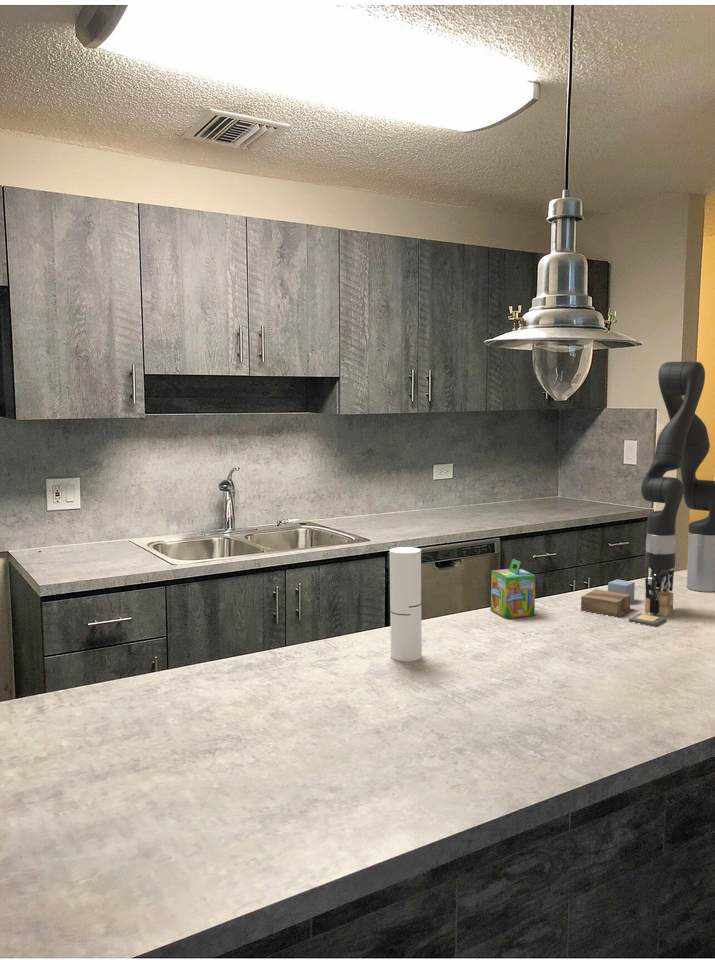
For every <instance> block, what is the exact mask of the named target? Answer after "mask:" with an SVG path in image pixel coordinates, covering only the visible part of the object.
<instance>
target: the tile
mask: <svg viewBox="0 0 715 960" xmlns="http://www.w3.org/2000/svg"><path fill="white" fill-rule="evenodd" d="M629 621H630V622H629ZM666 621H667V617H664V616H658V615H653V614H648V613H642V612H639V613H638V614H635V615H634V616H632V617H630V618H628V622H629V623H632V622H635V623H634V624H638V623H640V624H639V625H643V624H645V625H644V626H648V625H649V626H650V627H653V626H654V628H656V627H658V626H659V624H660V625H662V624H663V623H665V622H666ZM661 623H662V624H661Z"/></svg>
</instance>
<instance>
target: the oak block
mask: <svg viewBox="0 0 715 960" xmlns="http://www.w3.org/2000/svg"><path fill="white" fill-rule="evenodd" d="M656 594H657V592H656ZM644 595H645V596H644V614H648V613H650V599H649V598H646V593H645V594H644ZM672 612H674V592H672V591H670V592H665V591H662V592H661V593H660V597H659V613H657V614H655V615H654V616H658V615H661V616H660V617H664V616H665V617H667V616H669V615H670V614H672ZM653 614H654V613H650V614H649V615H653Z"/></svg>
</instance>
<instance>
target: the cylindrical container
mask: <svg viewBox="0 0 715 960" xmlns="http://www.w3.org/2000/svg"><path fill="white" fill-rule="evenodd" d="M389 595H390V596H389V599H390V600H389V604H390V607H389V608H390V609H389V610H390V619H389V620H390V657H392V658H391V659H393V660H394V659H395V661H397V662H398V661H399V662H415V661H419V660H420V659H421V658H422V655H423V653H422V652H423V651H422V650H423V649H422V644H423V643H422V640H423V639H422V549H421V548H418V547H413V546H402V547H401V546H399V547H394V548H390V549H389Z"/></svg>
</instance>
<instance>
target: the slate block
mask: <svg viewBox="0 0 715 960" xmlns="http://www.w3.org/2000/svg"><path fill="white" fill-rule="evenodd" d="M635 585H636V583H635V581H629V580H623V579H614V580H612V581H609V582H608V583H607V591H611V592H617V593H624V594H630V595H631V599H630V603H632V602H634V601H635V589H636V588H635V587H636V586H635ZM633 600H634V601H633ZM631 601H632V602H631Z"/></svg>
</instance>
